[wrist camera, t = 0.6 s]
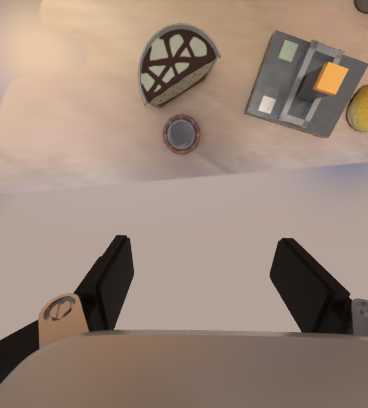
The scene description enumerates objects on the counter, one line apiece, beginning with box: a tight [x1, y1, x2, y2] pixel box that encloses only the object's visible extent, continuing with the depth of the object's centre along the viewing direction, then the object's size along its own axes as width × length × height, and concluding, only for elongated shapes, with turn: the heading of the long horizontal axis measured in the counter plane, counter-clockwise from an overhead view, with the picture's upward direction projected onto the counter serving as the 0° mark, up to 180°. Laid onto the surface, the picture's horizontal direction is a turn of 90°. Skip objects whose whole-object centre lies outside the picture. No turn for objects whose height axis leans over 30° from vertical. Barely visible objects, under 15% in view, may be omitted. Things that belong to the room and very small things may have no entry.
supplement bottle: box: [163, 114, 200, 155], centre depth 29 cm, size 6×6×11 cm
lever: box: [295, 62, 349, 101], centre depth 27 cm, size 3×3×6 cm
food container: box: [138, 23, 221, 109], centre depth 26 cm, size 12×6×10 cm, turn 118°
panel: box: [245, 30, 368, 138], centre depth 30 cm, size 12×17×3 cm
